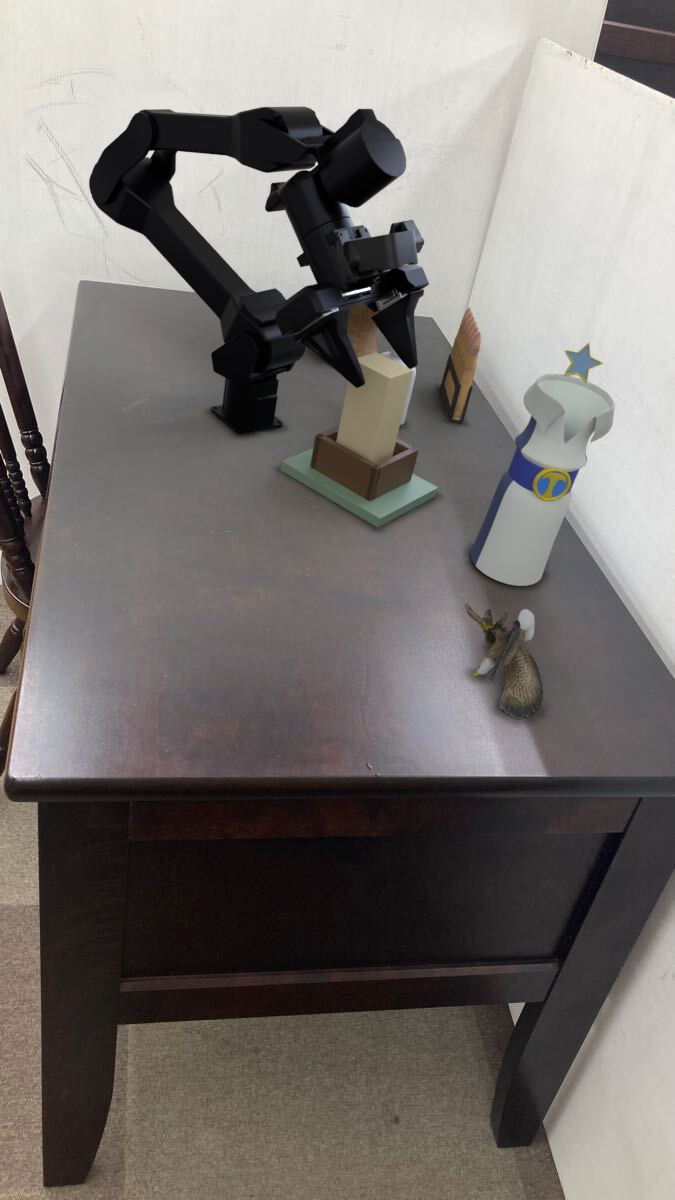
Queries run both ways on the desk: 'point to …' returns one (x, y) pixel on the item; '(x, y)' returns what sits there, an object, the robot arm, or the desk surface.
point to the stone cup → (362, 330)
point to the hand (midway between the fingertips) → (388, 376)
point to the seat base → (361, 478)
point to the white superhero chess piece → (542, 472)
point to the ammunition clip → (461, 368)
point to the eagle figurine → (511, 661)
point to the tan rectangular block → (374, 408)
